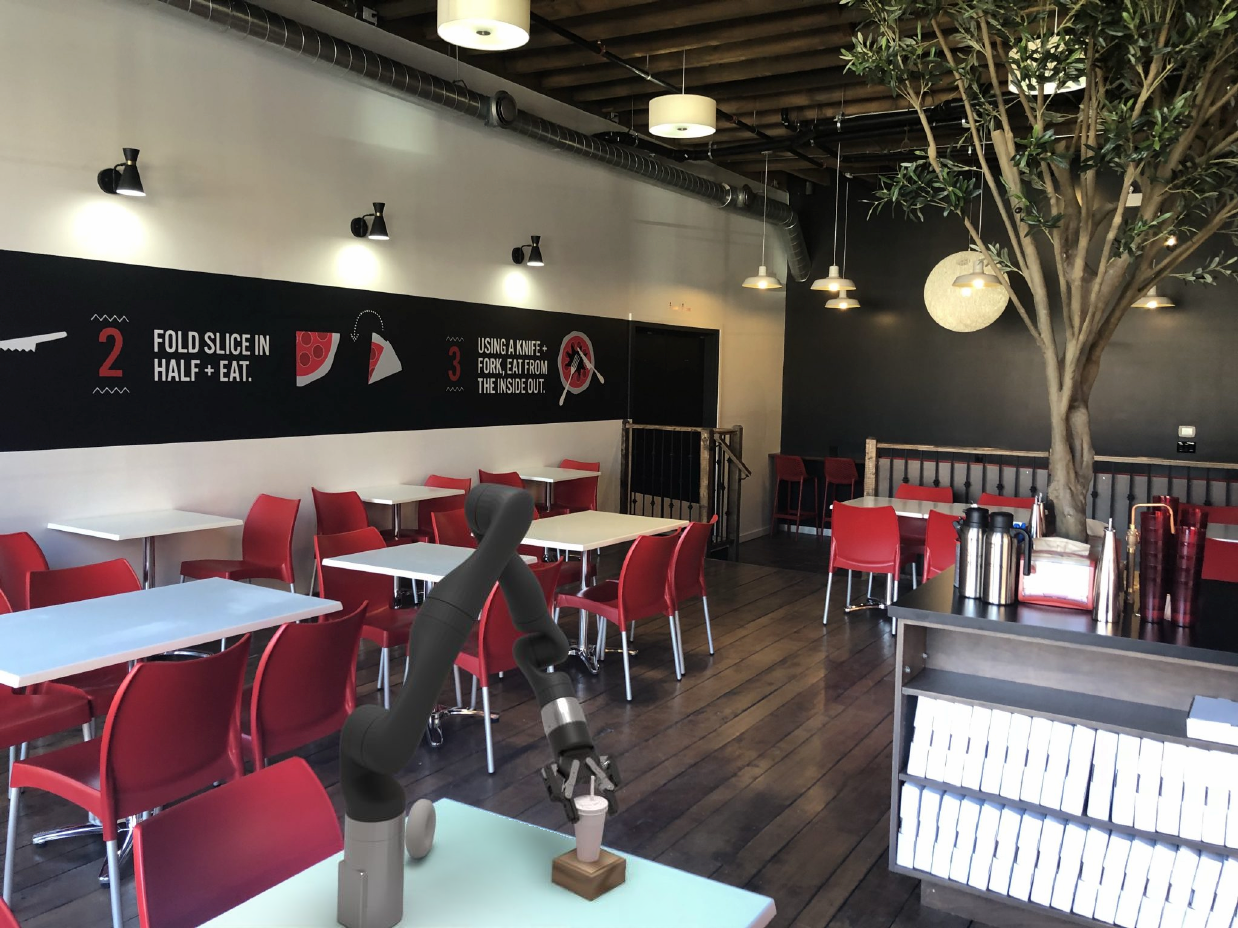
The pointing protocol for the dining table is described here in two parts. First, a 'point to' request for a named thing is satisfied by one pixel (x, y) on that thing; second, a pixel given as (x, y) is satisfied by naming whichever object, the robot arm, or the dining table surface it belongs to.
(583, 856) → the smoothie
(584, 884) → the base
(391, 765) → the robot arm
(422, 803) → the donut
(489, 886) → the dining table surface
